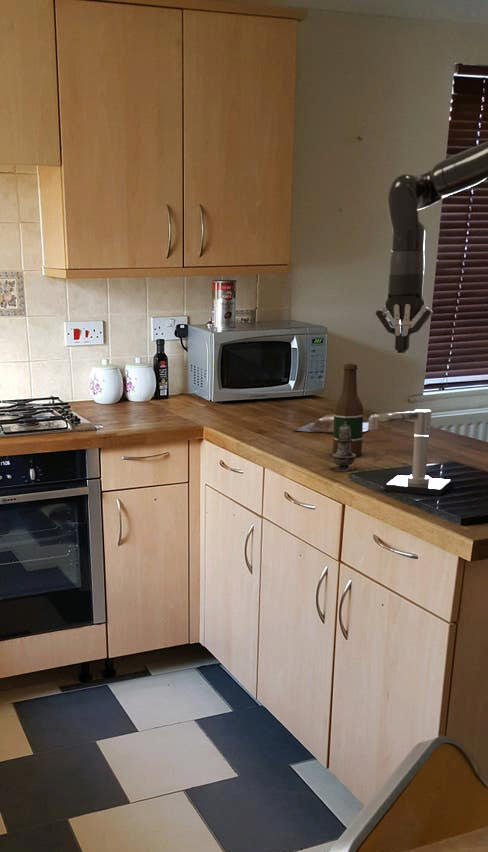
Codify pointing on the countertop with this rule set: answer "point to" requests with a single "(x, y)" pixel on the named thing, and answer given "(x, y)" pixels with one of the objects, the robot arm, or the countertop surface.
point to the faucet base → (418, 488)
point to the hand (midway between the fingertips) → (401, 352)
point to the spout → (419, 416)
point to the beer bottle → (349, 411)
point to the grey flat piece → (325, 425)
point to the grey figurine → (344, 450)
